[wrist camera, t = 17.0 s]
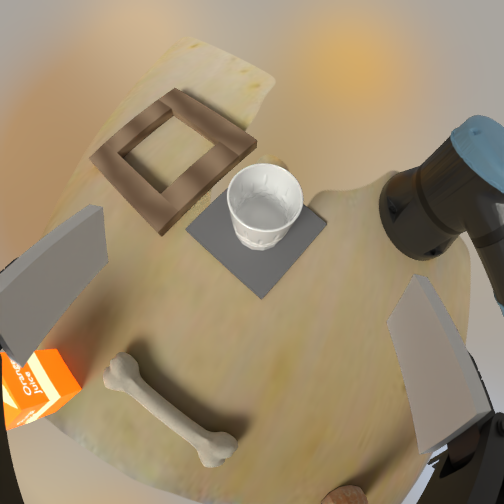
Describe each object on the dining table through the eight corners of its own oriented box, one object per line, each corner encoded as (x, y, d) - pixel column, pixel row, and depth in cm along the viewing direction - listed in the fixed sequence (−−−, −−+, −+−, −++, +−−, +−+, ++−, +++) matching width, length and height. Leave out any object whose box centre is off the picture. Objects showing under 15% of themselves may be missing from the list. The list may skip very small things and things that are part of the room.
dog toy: (106, 374, 32) (90, 380, 27) (128, 345, 33) (113, 348, 29) (216, 462, 30) (213, 479, 25) (242, 436, 31) (243, 452, 26)
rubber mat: (253, 166, 40) (253, 164, 40) (325, 225, 38) (326, 224, 38) (186, 230, 37) (185, 229, 37) (261, 299, 36) (261, 299, 35)
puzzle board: (176, 94, 44) (175, 87, 42) (256, 147, 41) (257, 140, 39) (93, 163, 40) (88, 158, 38) (161, 236, 37) (157, 232, 35)
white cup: (279, 262, 36) (292, 242, 27) (222, 244, 37) (215, 218, 27) (294, 210, 38) (310, 175, 28) (240, 193, 38) (241, 154, 29)
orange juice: (31, 373, 31) (-54, 384, 11) (56, 347, 32) (-40, 351, 13) (56, 412, 29) (-26, 443, 10) (83, 390, 31) (-9, 420, 12)
